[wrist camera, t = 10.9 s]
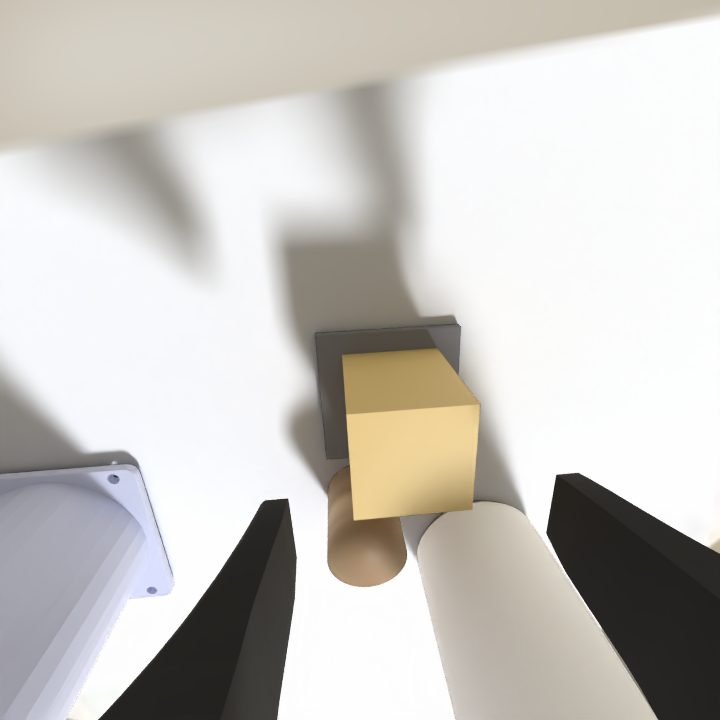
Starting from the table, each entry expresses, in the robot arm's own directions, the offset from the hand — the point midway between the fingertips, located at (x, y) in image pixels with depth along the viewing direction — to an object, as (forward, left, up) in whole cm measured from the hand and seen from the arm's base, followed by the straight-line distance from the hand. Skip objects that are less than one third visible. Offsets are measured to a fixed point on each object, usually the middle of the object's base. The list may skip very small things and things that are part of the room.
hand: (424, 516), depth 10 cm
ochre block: (0, 0, -7) cm, 7 cm away
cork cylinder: (-1, -5, -7) cm, 9 cm away
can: (+5, -9, -8) cm, 13 cm away
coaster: (0, 0, -7) cm, 7 cm away
